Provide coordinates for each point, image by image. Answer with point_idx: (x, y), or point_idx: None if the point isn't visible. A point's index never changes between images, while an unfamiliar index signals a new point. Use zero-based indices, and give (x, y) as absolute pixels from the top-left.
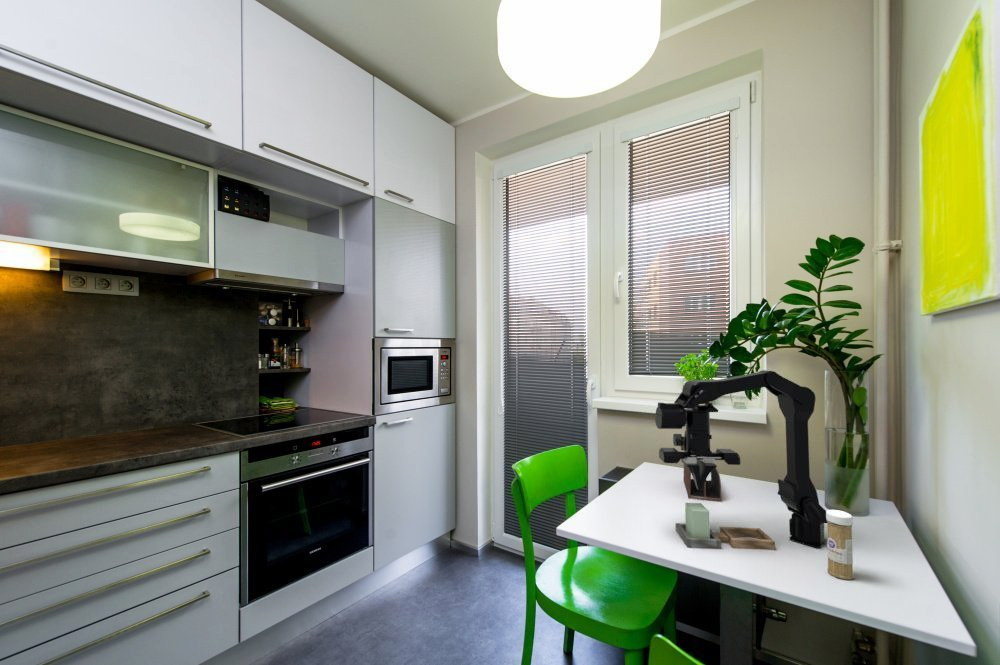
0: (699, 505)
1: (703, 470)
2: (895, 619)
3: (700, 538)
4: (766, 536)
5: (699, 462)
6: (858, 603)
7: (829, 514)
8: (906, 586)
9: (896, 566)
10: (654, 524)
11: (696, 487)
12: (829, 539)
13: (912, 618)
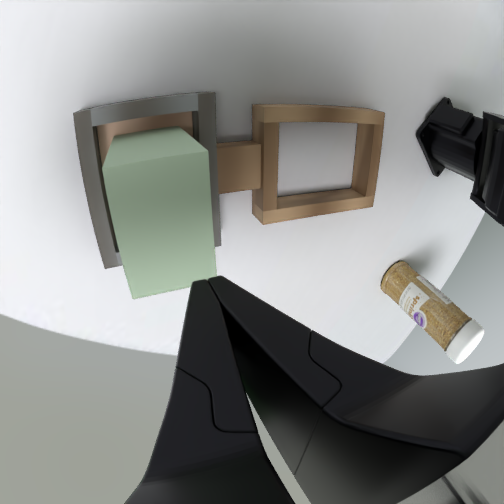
0: (186, 200)
1: (303, 485)
2: None
3: None
4: (372, 174)
5: (386, 483)
6: (352, 346)
7: (456, 358)
8: (436, 276)
9: (468, 218)
10: (8, 74)
11: (191, 287)
12: (424, 321)
13: (380, 349)
